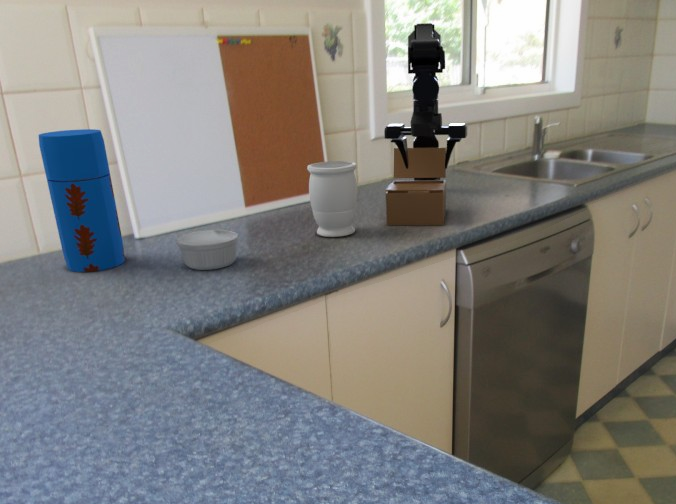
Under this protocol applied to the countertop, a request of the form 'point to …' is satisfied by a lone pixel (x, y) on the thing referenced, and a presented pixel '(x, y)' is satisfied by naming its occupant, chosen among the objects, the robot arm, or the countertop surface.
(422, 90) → the robot arm
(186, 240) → the ramekin
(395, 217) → the carton
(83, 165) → the thermos
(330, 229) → the jar
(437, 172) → the flap
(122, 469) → the countertop surface
